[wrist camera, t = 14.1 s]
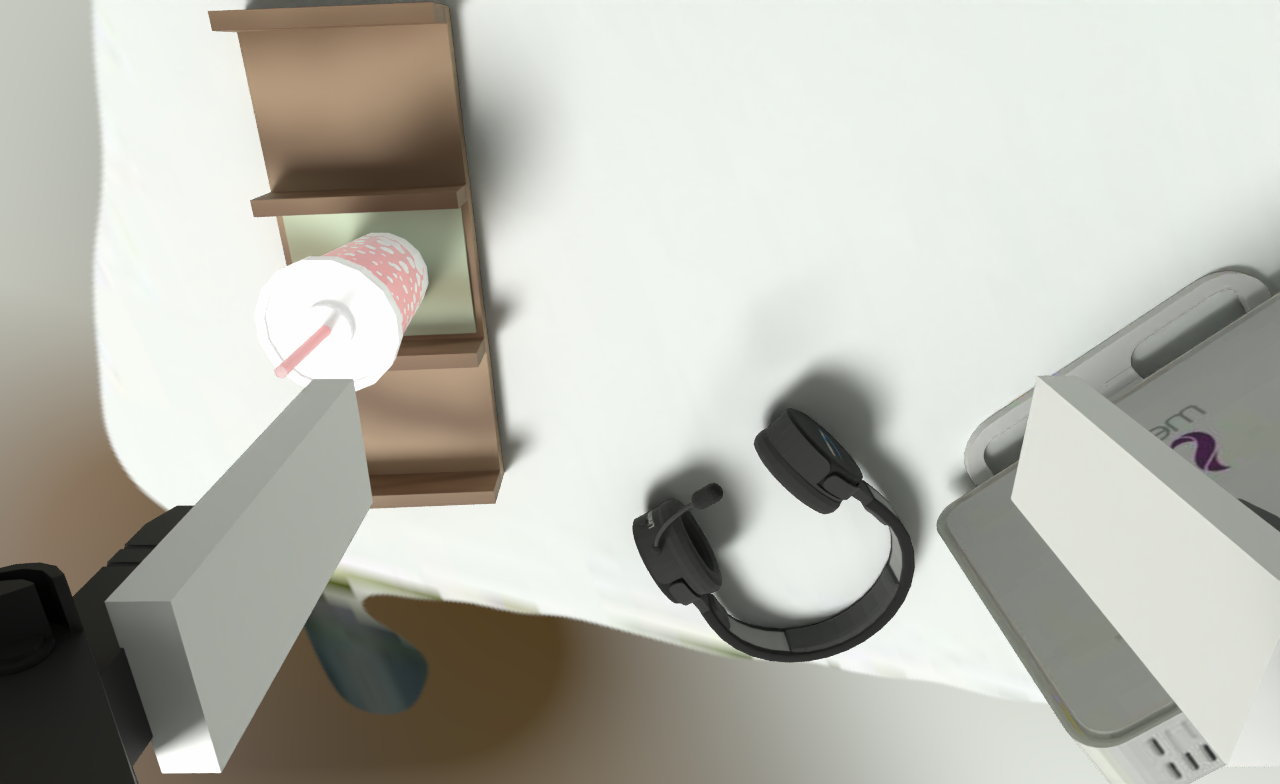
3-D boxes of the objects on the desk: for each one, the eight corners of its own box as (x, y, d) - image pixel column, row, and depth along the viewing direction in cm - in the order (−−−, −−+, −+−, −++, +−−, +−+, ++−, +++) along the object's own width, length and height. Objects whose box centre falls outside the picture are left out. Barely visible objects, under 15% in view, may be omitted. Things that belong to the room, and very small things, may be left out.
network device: (1300, 210, 44) (1795, 327, 25) (1359, 329, 46) (1844, 512, 28) (899, 477, 50) (1059, 729, 31) (971, 568, 52) (1158, 850, 34)
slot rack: (242, 14, 39) (207, 11, 36) (449, 5, 39) (432, 1, 36) (339, 480, 49) (319, 510, 46) (503, 473, 49) (495, 503, 46)
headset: (803, 425, 37) (998, 653, 45) (757, 339, 45) (929, 545, 54) (581, 583, 40) (802, 769, 48) (577, 475, 49) (766, 649, 57)
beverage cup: (391, 193, 41) (284, 260, 28) (466, 290, 43) (398, 393, 30) (302, 259, 42) (160, 350, 30) (379, 350, 45) (277, 472, 32)
